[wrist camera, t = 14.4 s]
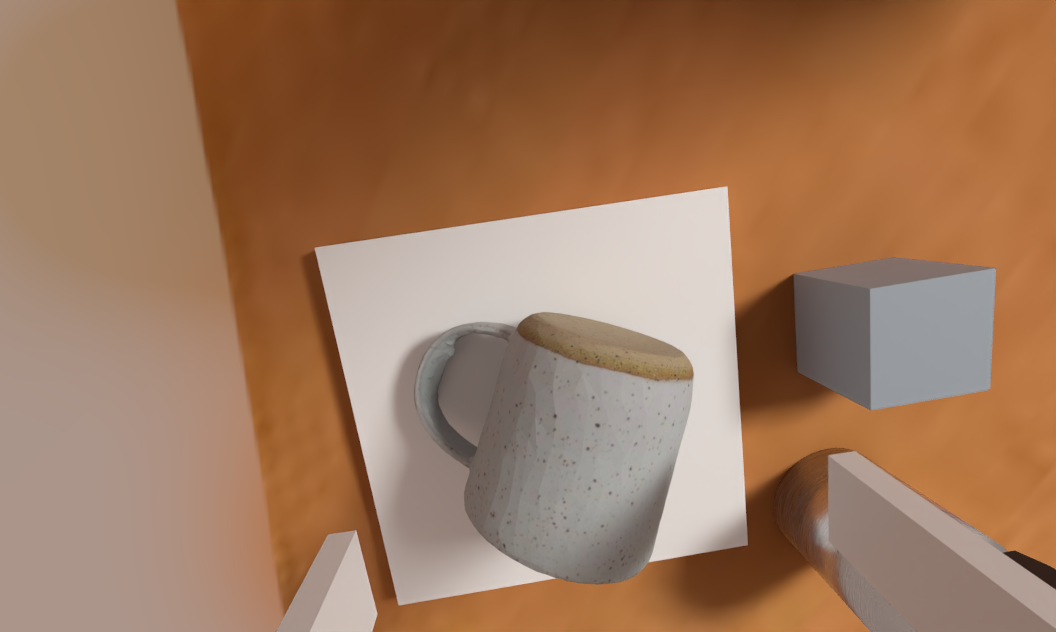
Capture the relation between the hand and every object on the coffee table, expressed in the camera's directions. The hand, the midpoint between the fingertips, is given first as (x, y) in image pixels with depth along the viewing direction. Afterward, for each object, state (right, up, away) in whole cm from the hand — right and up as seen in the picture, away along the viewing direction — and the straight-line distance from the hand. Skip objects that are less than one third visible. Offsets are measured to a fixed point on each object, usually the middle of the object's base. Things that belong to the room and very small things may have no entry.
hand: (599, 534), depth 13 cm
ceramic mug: (-2, +2, +9) cm, 10 cm away
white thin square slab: (-1, +2, +10) cm, 11 cm away
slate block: (+14, +6, +11) cm, 18 cm away
